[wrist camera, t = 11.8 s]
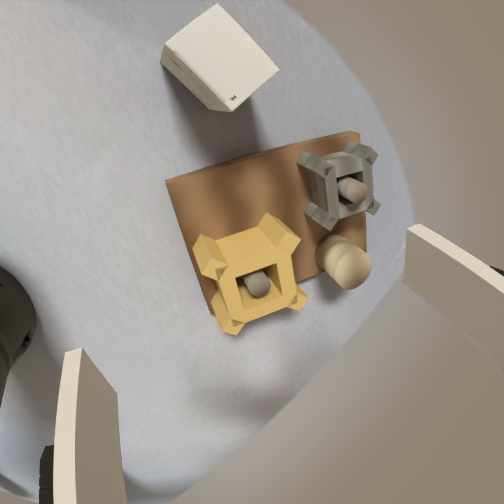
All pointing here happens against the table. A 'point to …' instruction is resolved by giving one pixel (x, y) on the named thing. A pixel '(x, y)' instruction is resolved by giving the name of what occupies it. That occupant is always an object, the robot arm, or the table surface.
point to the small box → (218, 60)
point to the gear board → (286, 206)
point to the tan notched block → (248, 260)
